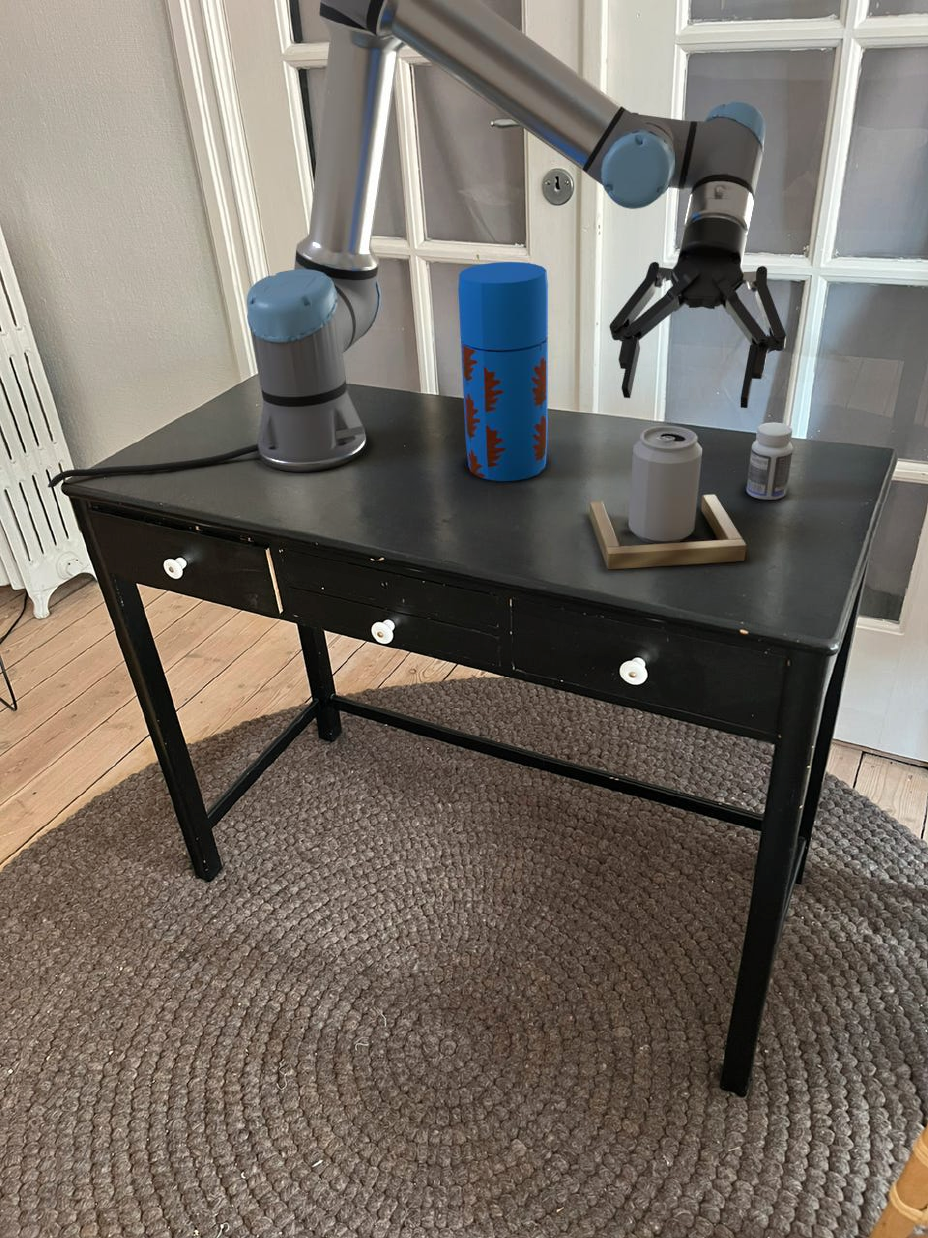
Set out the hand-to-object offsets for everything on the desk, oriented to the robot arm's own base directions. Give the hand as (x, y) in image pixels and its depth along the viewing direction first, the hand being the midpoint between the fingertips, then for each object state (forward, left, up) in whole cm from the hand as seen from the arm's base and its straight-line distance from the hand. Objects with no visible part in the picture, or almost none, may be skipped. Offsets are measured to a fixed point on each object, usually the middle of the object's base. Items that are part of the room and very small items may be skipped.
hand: (683, 398), depth 107 cm
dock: (-4, -9, -13) cm, 16 cm away
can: (-4, -9, -13) cm, 16 cm away
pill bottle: (+11, 0, -13) cm, 17 cm away
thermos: (-20, +13, -13) cm, 27 cm away
